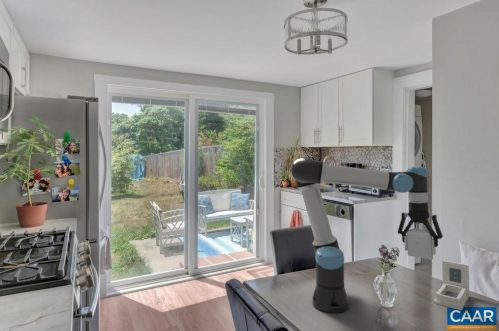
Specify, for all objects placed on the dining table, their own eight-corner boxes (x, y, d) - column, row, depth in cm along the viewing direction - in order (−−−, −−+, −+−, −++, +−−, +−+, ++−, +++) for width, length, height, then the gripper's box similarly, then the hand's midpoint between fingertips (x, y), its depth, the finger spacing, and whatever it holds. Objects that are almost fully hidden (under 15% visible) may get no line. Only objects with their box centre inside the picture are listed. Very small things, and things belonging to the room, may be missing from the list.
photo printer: (405, 255, 139) (404, 228, 138) (410, 253, 141) (409, 226, 141) (430, 260, 131) (429, 231, 131) (434, 258, 133) (433, 230, 133)
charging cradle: (433, 303, 131) (433, 270, 131) (443, 289, 144) (443, 260, 144) (461, 310, 124) (461, 276, 124) (469, 296, 137) (469, 264, 137)
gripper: (450, 202, 131) (452, 254, 131) (394, 199, 146) (395, 245, 147) (446, 204, 125) (448, 258, 125) (388, 201, 141) (390, 249, 141)
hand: (419, 251), depth 136 cm, fingers closed on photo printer, 10 cm apart
